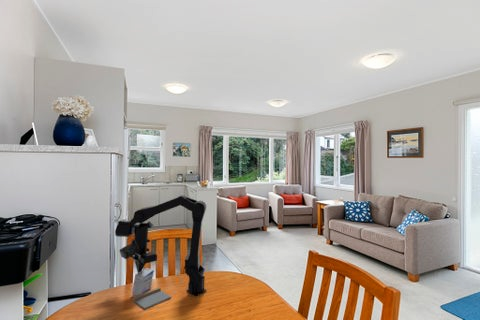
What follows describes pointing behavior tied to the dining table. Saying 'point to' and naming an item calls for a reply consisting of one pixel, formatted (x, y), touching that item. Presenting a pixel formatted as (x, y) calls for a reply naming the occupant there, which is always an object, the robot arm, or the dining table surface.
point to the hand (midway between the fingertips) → (139, 272)
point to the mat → (151, 298)
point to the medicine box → (142, 281)
